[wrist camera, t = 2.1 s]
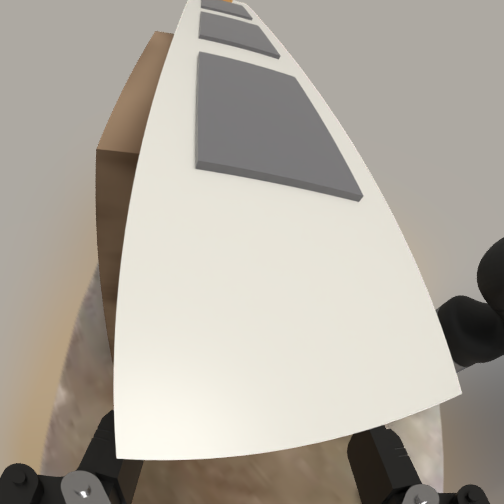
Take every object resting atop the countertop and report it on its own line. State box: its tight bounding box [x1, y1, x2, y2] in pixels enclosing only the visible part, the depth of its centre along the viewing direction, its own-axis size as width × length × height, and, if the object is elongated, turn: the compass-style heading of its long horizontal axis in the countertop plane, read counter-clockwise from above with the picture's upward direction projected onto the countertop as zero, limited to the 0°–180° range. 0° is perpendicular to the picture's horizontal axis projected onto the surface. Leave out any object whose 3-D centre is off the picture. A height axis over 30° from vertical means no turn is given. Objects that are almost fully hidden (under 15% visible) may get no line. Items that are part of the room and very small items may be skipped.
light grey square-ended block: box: [114, 0, 462, 460], centre depth 12 cm, size 4×26×4 cm, turn 8°
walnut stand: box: [96, 31, 174, 367], centre depth 27 cm, size 8×17×32 cm, turn 8°
